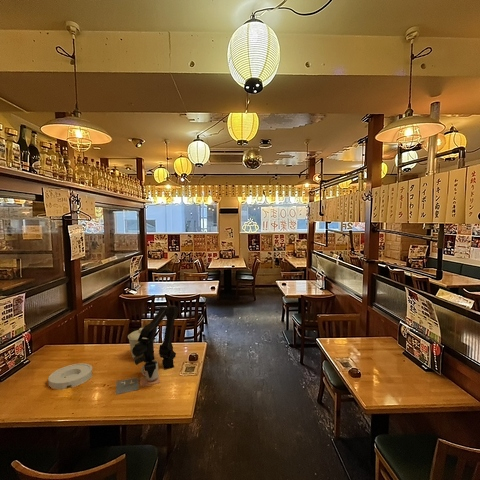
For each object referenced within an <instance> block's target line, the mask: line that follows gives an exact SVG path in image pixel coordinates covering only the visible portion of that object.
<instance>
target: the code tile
mask: <svg viewBox="0 0 480 480" xmlns="http://www.w3.org/2000/svg"><path fill="white" fill-rule="evenodd" d="M139 384H140V382H139V377H138V376H136V377H132V378H127V379H123V380H117V381H116V386H115V387H116V388H115V396H118V395H121V394H126V393H131V392H134V391H139V390H140V389H139V388H140V385H139Z"/></svg>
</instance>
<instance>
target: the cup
mask: <svg viewBox="0 0 480 480" xmlns="http://www.w3.org/2000/svg"><path fill="white" fill-rule="evenodd" d="M152 361H153V362H155V363H156V369H155V370H154V372H153V375H152V377H151V378H149V375H148V371H145V369H144V365H145V364H143V365H142V366H141V369H140V370H141V371H140V372H141V374H142V375H143V377H146V379H147V380H148V381H152V380H155V379H157V378H158V374H159V361H158V360H155V359H154V360H152ZM148 363H149V362H148Z"/></svg>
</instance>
